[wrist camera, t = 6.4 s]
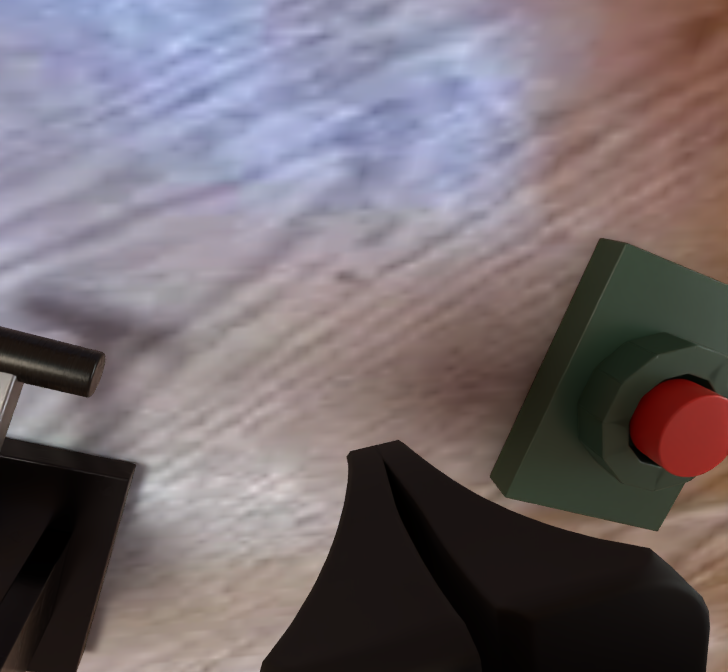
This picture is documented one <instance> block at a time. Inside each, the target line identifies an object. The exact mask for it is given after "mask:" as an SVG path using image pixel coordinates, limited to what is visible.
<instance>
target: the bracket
mask: <svg viewBox="0 0 728 672" xmlns="http://www.w3.org/2000/svg"><path fill="white" fill-rule="evenodd" d="M135 467H136V464H134V463H129V462H124V461H119V460H114V459H109V458H104V457H99V456H94V455H89V454H84V453H79V452H74V451H69V450H64V449H59V448H54V447H49V446H44V445H39V444H34V443H29V442H24V441H19V440H14V439H9V438H5V439H4V442H3V445H2V448H1V450H0V672H26V671H27V672H77V669H78V666H79V664H80V661H81V658H82V655H83V653H84V649H85V646H86V642H87V639H88V635H89V632H90V628H91V624H92V621H93V617H94V614H95V610H96V607H97V603H98V599H99V596H100V592H101V589H102V585H103V582H104V578H105V574H106V571H107V567H108V564H109V560H110V557H111V553H112V549H113V546H114V542H115V539H116V535H117V532H118V528H119V524H120V521H121V517H122V514H123V510H124V507H125V503H126V499H127V496H128V492H129V489H130V485H131V482H132V478H133V474H134V471H135Z"/></svg>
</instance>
